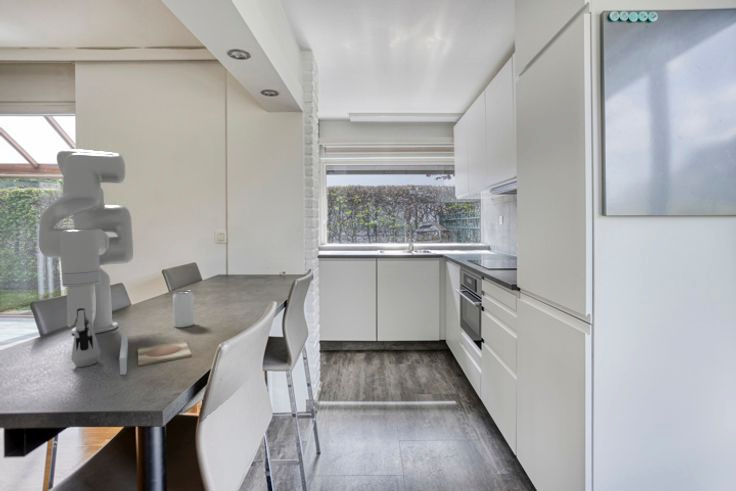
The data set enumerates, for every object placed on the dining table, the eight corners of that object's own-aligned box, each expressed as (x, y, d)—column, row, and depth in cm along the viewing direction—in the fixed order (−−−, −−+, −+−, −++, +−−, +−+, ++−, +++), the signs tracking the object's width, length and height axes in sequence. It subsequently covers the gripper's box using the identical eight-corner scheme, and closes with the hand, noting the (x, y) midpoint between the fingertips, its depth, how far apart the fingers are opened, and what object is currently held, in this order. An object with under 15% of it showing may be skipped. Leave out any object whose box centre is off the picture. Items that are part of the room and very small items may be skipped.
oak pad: (137, 350, 101) (137, 347, 101) (185, 342, 108) (185, 339, 107) (138, 366, 89) (138, 363, 89) (191, 356, 96) (191, 353, 96)
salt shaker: (106, 359, 94) (103, 311, 93) (87, 368, 88) (84, 316, 87) (86, 359, 94) (83, 310, 93) (65, 368, 88) (62, 316, 88)
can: (180, 329, 122) (179, 294, 121) (170, 326, 125) (168, 292, 124) (198, 324, 127) (197, 291, 127) (187, 322, 131) (186, 289, 130)
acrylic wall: (122, 348, 102) (122, 335, 102) (127, 348, 103) (127, 334, 103) (120, 375, 84) (119, 358, 84) (126, 374, 85) (125, 357, 84)
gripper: (67, 276, 94) (71, 344, 96) (56, 284, 81) (61, 364, 82) (102, 273, 99) (106, 338, 100) (97, 281, 85) (101, 357, 86)
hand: (85, 349), depth 91 cm, fingers closed on salt shaker, 3 cm apart
